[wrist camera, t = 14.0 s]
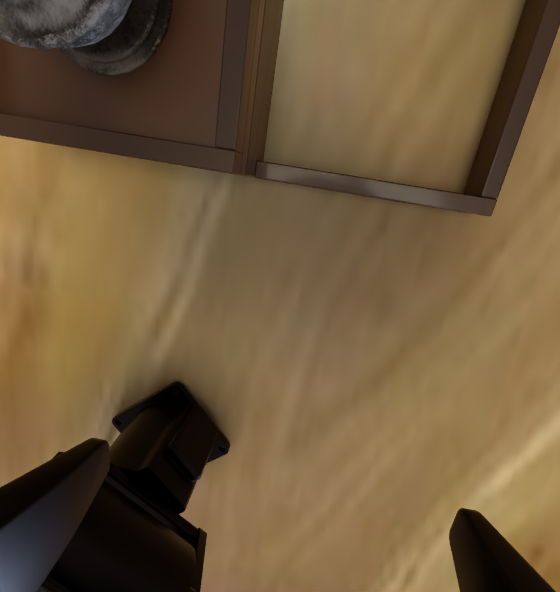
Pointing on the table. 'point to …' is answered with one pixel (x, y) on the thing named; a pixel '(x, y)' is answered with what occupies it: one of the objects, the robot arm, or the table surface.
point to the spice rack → (238, 102)
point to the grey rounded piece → (89, 30)
